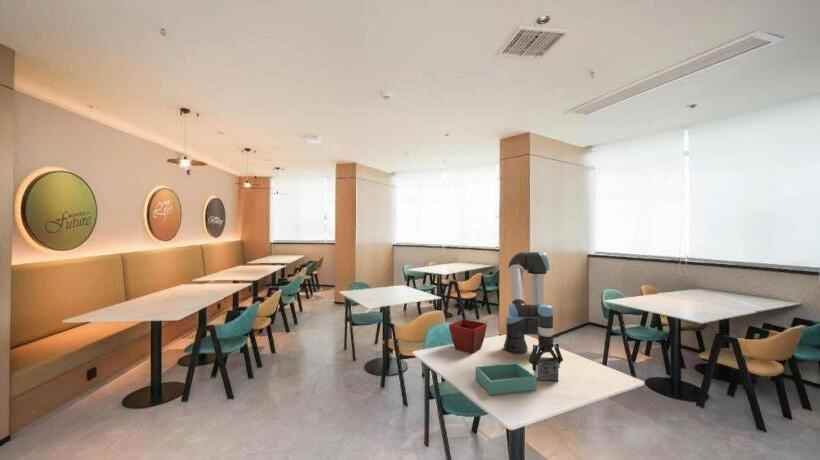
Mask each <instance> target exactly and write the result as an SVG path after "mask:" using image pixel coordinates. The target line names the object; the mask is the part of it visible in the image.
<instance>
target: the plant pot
mask: <svg viewBox="0 0 820 460" xmlns="http://www.w3.org/2000/svg"><path fill="white" fill-rule="evenodd" d="M487 327H488V323H487V322H486V323H485V322H482V321H481V322H480V321H475V320H470V319H465V318H464V319H460V320H458V321H455V322H453V323H450V324H448V328H449V334H450V337H451V341H452V344H453V346H454V349H455V350H456V351H459V352H464V353H467V354H474V353H475V352H477V351H479V350H481V349H482V346H483V343H484V340H485V337H486V333H487Z"/></svg>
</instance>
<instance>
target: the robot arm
mask: <svg viewBox="0 0 820 460" xmlns="http://www.w3.org/2000/svg"><path fill="white" fill-rule="evenodd" d="M548 258H549V257H548V255H547V254H546V252H539V251H537V252H536V251H533V252H531V251H530V252H529V251H527V252H525V251H524V252H523V251H522V252H518V253H516V254H514V255H513V256H512V258H510V261H509V262H508V266H507V267H508V269H507V271H508V273H509V275H510V276H509V277H510V291H511V292H510V295H511V303H509V304H508V315H507V316H506V318H505V331H506V332H505V335H506V336H505V341H504V343H503V350H504V351H506V352H507V353H511V354H518V355H519V354H525V353H528V345H527V342H526V338H525V336H526V335H527V336H537V337H538V338H537V340H538V344H533V345H532V350H531V353H530V356H529V359H528V363H529V364H530V365H531V366H532V370H533V375H534V376H535V377H536V378H538V365H537V363H538V362H537V361H539V359H540V357H542V356H543V355H544V354H546V353H550V355H551V356H552V358H555V359H556V360H557V361H558V376H560V375H559V372H560V371H559V369H560V368H561V367H560V364H561V363H562V362H563V361H564V358H563V355H562V353H561V350H560V348H559V346H560V345H559V344H558V343H557V342H554V307H553V305H549V304H545V275H547V272H548V271H550V263H549V259H548ZM525 271H526V272H527V274H528V275H529V304H526V296H525V286H524V275H523V274H524V272H525Z"/></svg>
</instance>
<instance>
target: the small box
mask: <svg viewBox="0 0 820 460" xmlns="http://www.w3.org/2000/svg"><path fill="white" fill-rule="evenodd" d="M537 362H538V363H537V365H538V378H536V381H538V382H559V375H558V361H557V360H556V359H555V358H553V357H544V356H543V357H542V356H541V357H540V359H539V361H537Z"/></svg>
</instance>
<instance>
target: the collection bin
mask: <svg viewBox="0 0 820 460" xmlns="http://www.w3.org/2000/svg"><path fill="white" fill-rule="evenodd" d="M475 381H476V382H477V383H478V384H479V386H480V387H481V388H482V389H483V390H484V391H485V392H486V393H487V395H488V396H489V397H490V396H491V397H498V396H507V395H515V394H523V393H524V394H525V393H531V392H536V391H537V385H536V383H537V379H536V377H535V376H534V374H533V373H531V372H530V371H529V370H528V369H526V368H524V366H522V365H520V364H519V363H518V362H511V363H501V364H492V365H489V364H488V365H482V366H480V365H479V366H475Z"/></svg>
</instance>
